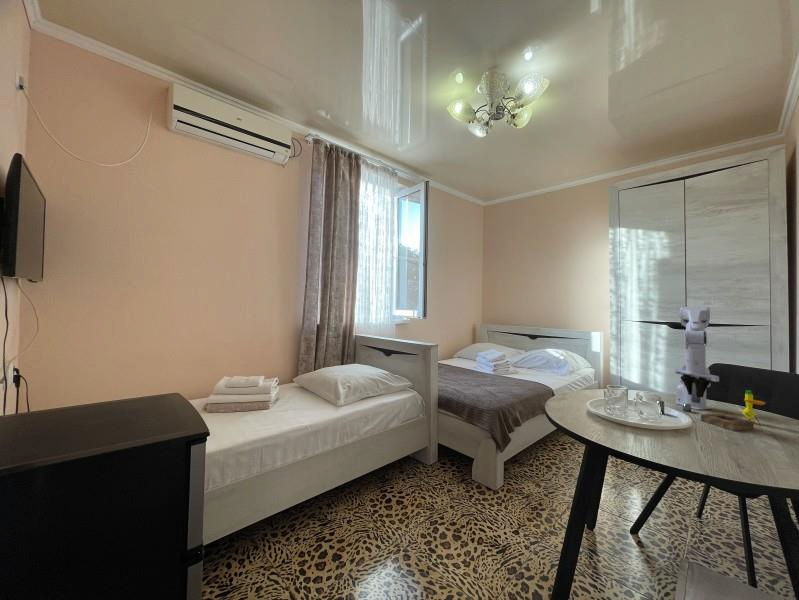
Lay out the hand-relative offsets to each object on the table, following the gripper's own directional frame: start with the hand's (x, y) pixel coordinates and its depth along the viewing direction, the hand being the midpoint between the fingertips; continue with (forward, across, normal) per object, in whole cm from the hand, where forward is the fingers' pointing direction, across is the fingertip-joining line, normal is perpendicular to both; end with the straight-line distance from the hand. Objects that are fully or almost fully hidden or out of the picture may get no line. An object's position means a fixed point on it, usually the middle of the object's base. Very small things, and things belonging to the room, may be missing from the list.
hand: (695, 395), depth 127 cm
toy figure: (+9, +8, +17) cm, 20 cm away
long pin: (+2, 0, 0) cm, 2 cm away
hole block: (+9, +7, +5) cm, 12 cm away
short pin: (+9, -8, +6) cm, 14 cm away
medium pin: (+9, -8, -8) cm, 14 cm away
